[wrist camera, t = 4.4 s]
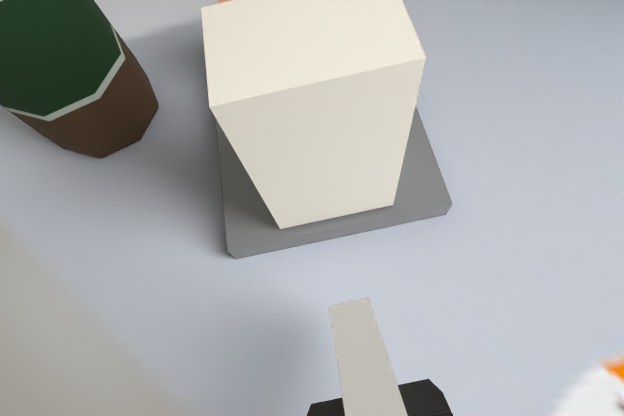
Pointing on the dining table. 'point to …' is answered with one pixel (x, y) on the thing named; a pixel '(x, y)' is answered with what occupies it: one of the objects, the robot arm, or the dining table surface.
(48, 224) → the dining table surface
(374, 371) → the robot arm
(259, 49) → the cream tall block
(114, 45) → the beer bottle
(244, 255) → the base
